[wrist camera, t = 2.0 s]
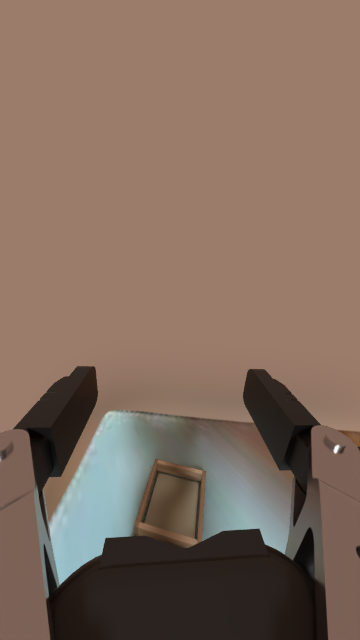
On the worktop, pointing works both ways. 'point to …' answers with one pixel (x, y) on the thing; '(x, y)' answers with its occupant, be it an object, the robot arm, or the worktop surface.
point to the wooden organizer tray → (172, 505)
